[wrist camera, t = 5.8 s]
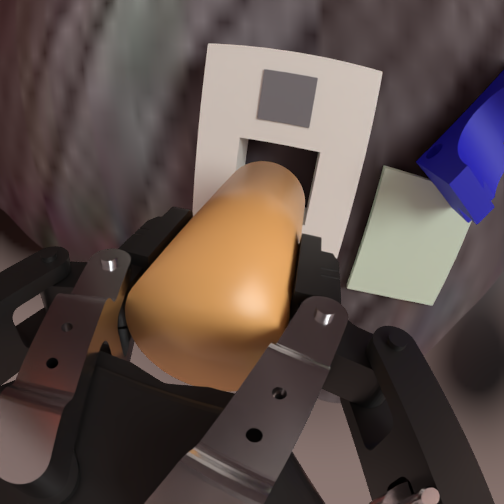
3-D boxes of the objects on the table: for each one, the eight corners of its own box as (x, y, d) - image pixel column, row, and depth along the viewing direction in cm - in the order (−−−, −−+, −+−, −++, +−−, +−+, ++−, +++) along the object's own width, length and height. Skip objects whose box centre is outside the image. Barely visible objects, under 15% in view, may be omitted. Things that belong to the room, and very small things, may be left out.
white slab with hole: (222, 48, 18) (207, 43, 15) (373, 73, 17) (382, 71, 14) (202, 252, 26) (189, 273, 24) (323, 279, 25) (322, 302, 23)
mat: (383, 165, 20) (385, 167, 19) (476, 195, 19) (479, 198, 19) (346, 284, 25) (347, 288, 24) (430, 301, 24) (432, 305, 24)
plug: (230, 153, 15) (119, 248, 7) (313, 172, 15) (304, 298, 6) (219, 227, 17) (131, 364, 9) (294, 246, 17) (264, 404, 9)
